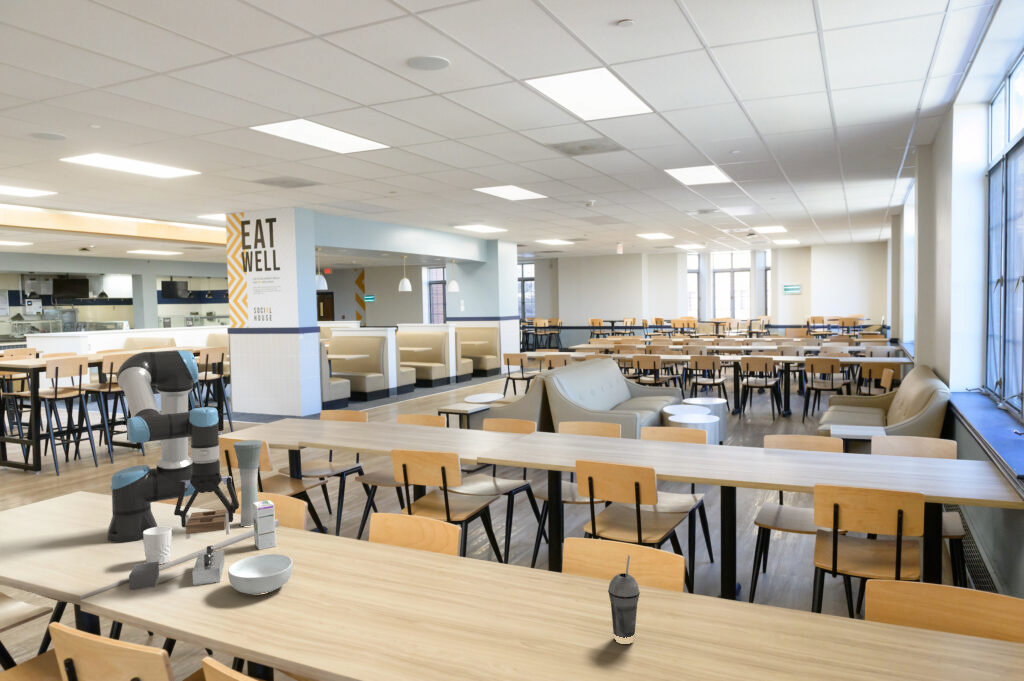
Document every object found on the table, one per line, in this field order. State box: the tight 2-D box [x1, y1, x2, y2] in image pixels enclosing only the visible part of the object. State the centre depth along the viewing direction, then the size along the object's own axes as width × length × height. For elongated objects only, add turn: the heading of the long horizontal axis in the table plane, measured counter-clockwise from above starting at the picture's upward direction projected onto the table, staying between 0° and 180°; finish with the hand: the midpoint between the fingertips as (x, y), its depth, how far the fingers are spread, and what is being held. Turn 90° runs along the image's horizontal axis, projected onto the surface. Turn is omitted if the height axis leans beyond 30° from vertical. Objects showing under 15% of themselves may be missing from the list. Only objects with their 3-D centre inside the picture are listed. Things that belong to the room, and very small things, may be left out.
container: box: [233, 439, 263, 526], centre depth 241 cm, size 10×10×30 cm
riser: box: [128, 562, 160, 591], centre depth 191 cm, size 9×6×4 cm, turn 19°
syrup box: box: [253, 499, 277, 551], centre depth 219 cm, size 6×6×14 cm
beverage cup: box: [607, 554, 641, 638], centre depth 154 cm, size 7×7×20 cm
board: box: [185, 508, 227, 535], centre depth 195 cm, size 13×10×2 cm
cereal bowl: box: [227, 553, 294, 595], centre depth 185 cm, size 17×17×7 cm
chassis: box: [192, 545, 225, 586], centre depth 196 cm, size 15×7×7 cm, turn 19°
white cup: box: [143, 525, 173, 564], centre depth 206 cm, size 8×8×10 cm
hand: (208, 535), depth 195 cm, fingers closed on board, 10 cm apart
